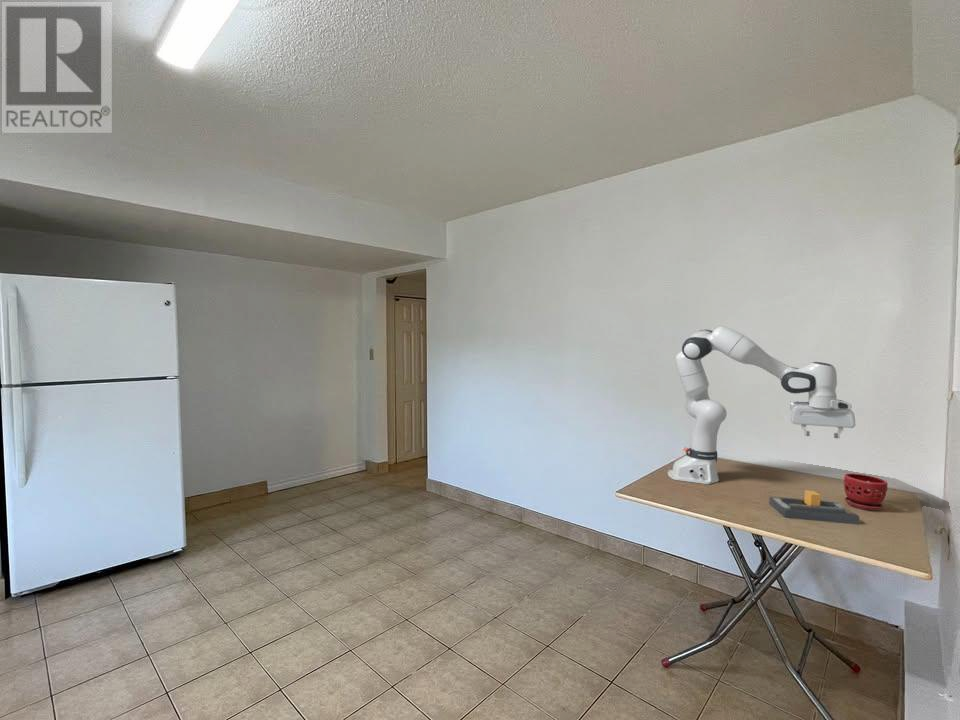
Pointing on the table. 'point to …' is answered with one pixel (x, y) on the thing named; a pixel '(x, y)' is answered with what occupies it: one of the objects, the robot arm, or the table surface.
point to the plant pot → (864, 491)
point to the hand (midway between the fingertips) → (821, 436)
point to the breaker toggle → (812, 498)
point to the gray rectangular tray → (813, 510)
